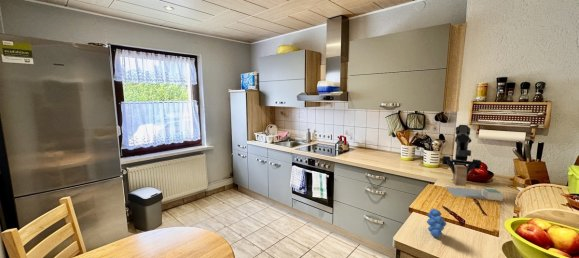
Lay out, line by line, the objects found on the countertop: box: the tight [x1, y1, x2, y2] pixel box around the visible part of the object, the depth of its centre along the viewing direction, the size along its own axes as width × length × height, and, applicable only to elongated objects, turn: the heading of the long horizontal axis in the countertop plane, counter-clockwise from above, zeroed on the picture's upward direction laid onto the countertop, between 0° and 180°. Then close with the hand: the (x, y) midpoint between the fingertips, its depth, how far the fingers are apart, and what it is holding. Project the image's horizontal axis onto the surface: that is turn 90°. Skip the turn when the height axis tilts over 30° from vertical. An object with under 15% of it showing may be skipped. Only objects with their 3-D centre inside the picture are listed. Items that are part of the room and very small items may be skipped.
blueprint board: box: [444, 186, 504, 203], centre depth 145 cm, size 16×24×5 cm, turn 74°
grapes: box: [426, 208, 447, 238], centre depth 99 cm, size 12×7×12 cm, turn 169°
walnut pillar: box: [452, 165, 468, 187], centre depth 141 cm, size 5×5×11 cm
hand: (460, 174), depth 139 cm, fingers closed on walnut pillar, 6 cm apart
